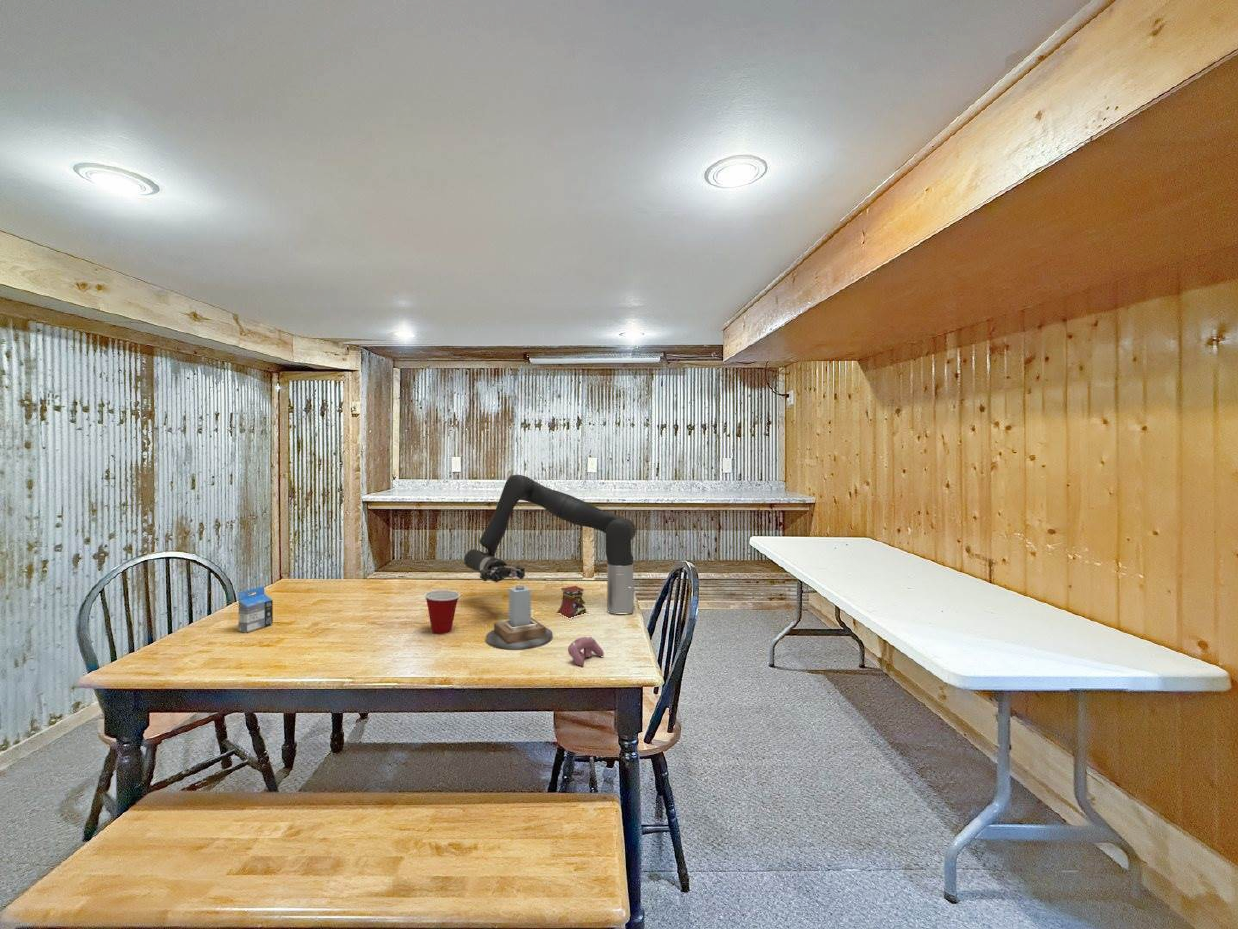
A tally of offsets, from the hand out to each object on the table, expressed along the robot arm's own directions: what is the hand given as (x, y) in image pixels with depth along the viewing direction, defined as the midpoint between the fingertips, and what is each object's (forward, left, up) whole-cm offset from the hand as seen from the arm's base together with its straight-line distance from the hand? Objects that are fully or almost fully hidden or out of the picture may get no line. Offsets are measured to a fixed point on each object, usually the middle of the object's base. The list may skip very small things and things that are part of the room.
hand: (510, 577), depth 180 cm
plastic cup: (+19, +8, -16) cm, 26 cm away
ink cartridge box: (+78, +16, -16) cm, 82 cm away
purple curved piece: (-30, +24, -16) cm, 42 cm away
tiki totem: (-17, -17, -16) cm, 29 cm away
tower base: (-7, +10, -16) cm, 20 cm away
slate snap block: (-7, +10, -12) cm, 17 cm away
